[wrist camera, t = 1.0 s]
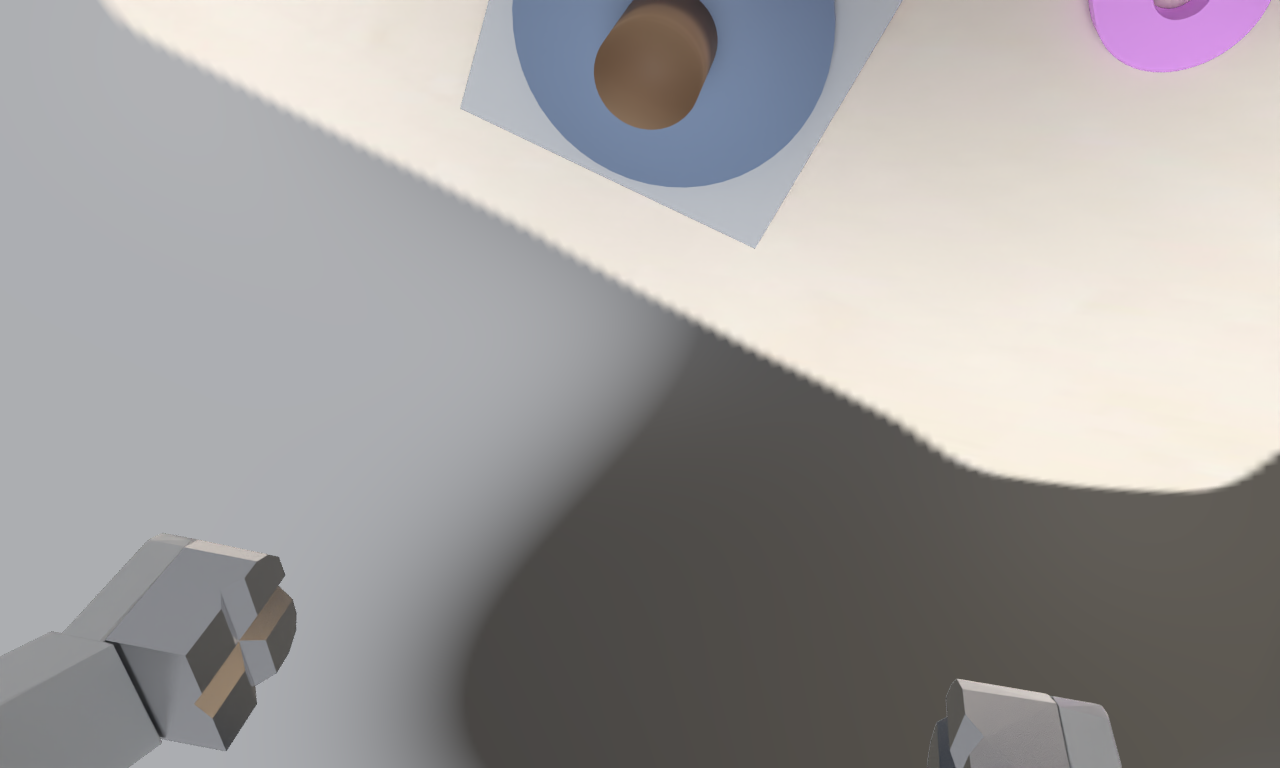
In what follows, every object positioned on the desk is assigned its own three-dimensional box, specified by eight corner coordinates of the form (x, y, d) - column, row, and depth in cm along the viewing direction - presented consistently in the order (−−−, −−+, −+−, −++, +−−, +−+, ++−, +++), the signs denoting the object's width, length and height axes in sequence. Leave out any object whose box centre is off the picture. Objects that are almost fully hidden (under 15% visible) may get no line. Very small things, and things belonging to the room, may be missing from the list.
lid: (577, -221, 31) (534, -200, 28) (902, -52, 32) (902, -10, 29) (486, 98, 40) (443, 147, 36) (745, 222, 41) (730, 282, 37)
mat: (563, -268, 31) (559, -267, 31) (941, -70, 32) (942, -67, 32) (463, 104, 41) (460, 108, 41) (755, 244, 42) (754, 248, 42)
